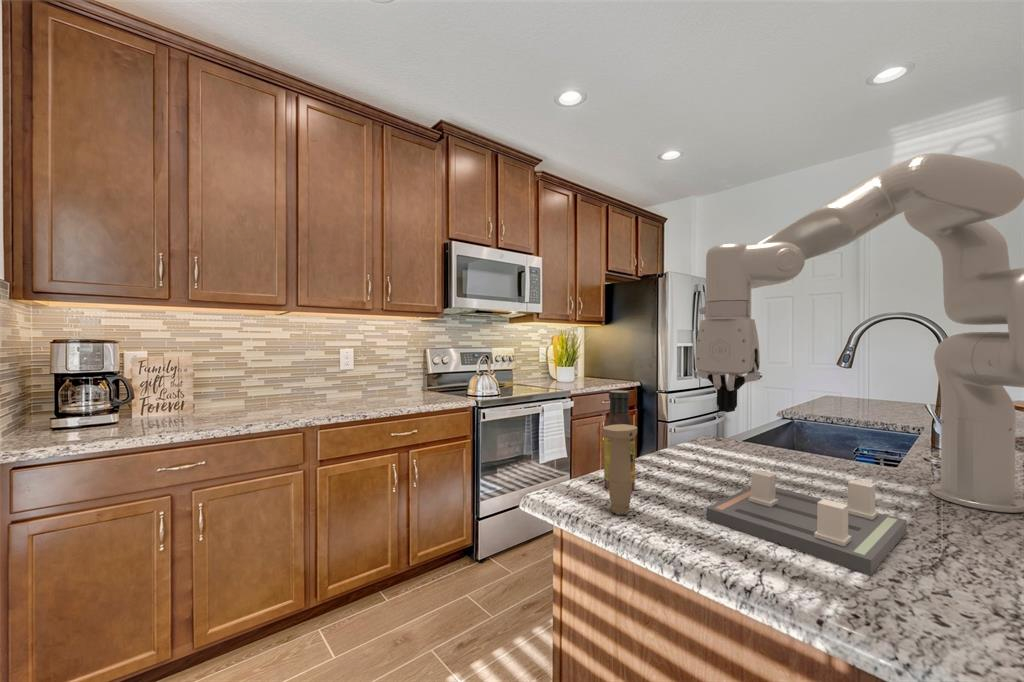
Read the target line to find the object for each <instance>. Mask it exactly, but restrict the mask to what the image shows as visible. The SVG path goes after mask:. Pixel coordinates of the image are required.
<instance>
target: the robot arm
mask: <svg viewBox="0 0 1024 682" xmlns="http://www.w3.org/2000/svg"><path fill="white" fill-rule="evenodd" d="M1023 201H1024V177H1023V176H1022V175H1021V174H1020V173H1019V172H1018V171H1017V170H1015V169H1013V168H1012V167H1009V166H1007V165H1003V164H1001V163H995V162H992V161H991V162H990V161H987V160H981V159H976V158H971V157H966V156H962V155H954V154H950V153H949V154H946V153H938V152H937V153H936V152H934V153H933V152H931V153H928V152H927V153H923V154H919V155H916V156H913V157H911V158H909V159H907V160H903V161H902V162H900V163H897V164H895V165H892V166H890V167H889V168H886V169H884V170H881V171H879V172H877V173H875V174H873V175H871V176H870V177H868V178H866V179H864V180H863V181H861V182H859V183H858V184H856V185H855V186H853V187H851V188H850V189H848V190H846V191H845V192H844V193H842V194H841V193H840V195H838V196H837V197H834V198H833V199H832V200H830V201H828V202H826V203H825V204H823V205H821V206H819V207H818V208H816V209H815V210H812V211H810V212H809V213H807V214H805V215H804V216H802V217H801V218H800V217H799V219H797V220H796V221H793V222H792V223H791V224H789V225H787V226H785V227H783V228H781V229H780V230H778V231H777V232H775V233H772V234H771V235H769V236H768V237H766V238H764V239H762V240H760V241H759V242H757V243H754V244H746V243H745V244H744V243H739V242H737V243H734V242H731V243H723V244H718V245H715V246H712V247H710V248H709V249H708V250H707V252H706V256H705V257H706V258H705V303H704V306H701V307H699V311H698V313H699V314H700V315H704V318H705V319H702V320H700V323H699V328H698V332H697V336H696V337H697V338H696V345H695V359H694V361H695V362H694V363H695V365H694V366H695V369H696V370H698V372H697V375H698V377H700V378H703V379H706V380H708V381H709V382H710V383H711V384H712V385H713V388H714V389H715V390H716V405H717V407H718V412H724V413H732V412H735V411H736V408H737V407H738V391H739V390H740V389H741V387H742V386H743V385H744V384H746V383H751V382H756V381H759V380H760V376H759V375H760V374H759V369H760V364H761V360H760V343H759V336H758V335H759V334H758V329H757V324H756V320H755V319H754V318H751V315H752V290H753V289H758V288H762V287H767V286H774V285H779V284H784V283H786V282H789V281H791V280H793V279H795V278H796V277H797V276H798V275H799V274H800V273H802V270H803V269H804V266H805V263H806V262H805V261H806V260H809V259H812V258H815V257H818V256H821V255H825V254H828V253H830V252H834V251H835V250H838V249H840V248H842V247H845V246H847V245H849V244H851V243H852V242H855V241H856V240H857V239H859V238H860V237H862V236H865V234H867V233H869V232H870V231H872V230H873V229H875V228H877V227H879V226H880V225H882V224H884V223H886V222H887V221H889V220H890V219H892V218H894V217H896V216H898V215H900V214H902V213H903V215H904V218H905V220H906V222H907V224H908V225H909V226H910V227H911V228H913V229H914V230H916V231H917V232H918V233H921V234H922V235H924V236H925V237H926V238H928V239H929V240H930V241H931V242H933V244H934V246H935V245H936V246H935V247H937V248H938V250H939V253H940V256H941V263H942V283H943V284H942V285H943V288H942V289H943V292H942V293H943V307H944V311H945V312H944V313H945V314H946V316H947V318H948V319H950V320H951V321H952V322H955V323H956V324H961V325H970V326H971V325H973V326H974V325H975V326H977V325H978V326H979V325H980V326H988V325H990V326H991V325H992V326H993V325H1007V329H1008V330H1007V331H1005V332H1004V331H973V332H962V333H957V334H953V335H950V336H948V337H946V338H944V339H942V341H940V343H939V344H938V345H937V346H936V348H935V350H934V356H933V360H934V366H935V367H934V368H935V370H936V373H937V376H938V377H937V378H938V381H939V388H940V404H941V407H940V409H941V411H940V412H941V416H940V417H941V419H940V422H941V423H940V425H941V426H940V433H941V434H940V440H941V441H940V482H938V483H932V484H931V485H929V492H930V494H932V496H935V497H937V498H938V499H941V500H944V501H947V502H949V503H952V504H956V505H960V506H964V507H968V508H973V509H977V510H978V509H979V510H983V511H991V512H999V513H1011V514H1012V513H1013V514H1014V513H1024V499H1023V498H1020V497H1018V496H1016V418H1017V416H1016V408H1015V404H1014V401H1013V399H1012V398H1011V396H1010V394H1009V393H1008V391H1007V390H1006V389H1005V387H1014V388H1024V267H1021V268H1012V269H1011V267H1010V257H1009V249H1008V247H1009V246H1008V242H1007V241H1006V239H1005V237H1004V236H1003V234H1002V233H1001V232H1000V231H999V230H998V229H997V228H996V227H995V226H993V225H992V224H990V223H989V222H988V221H989V220H992V219H996V218H1001V217H1003V216H1005V215H1007V214H1009V213H1011V212H1013V211H1014V210H1016V209H1017V208H1018V207H1019V206H1020V205H1021V203H1022V202H1023ZM745 374H746V375H745ZM727 375H728V376H727ZM727 377H728V378H727Z"/></svg>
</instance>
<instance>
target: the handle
mask: <svg viewBox="0 0 1024 682" xmlns="http://www.w3.org/2000/svg"><path fill="white" fill-rule="evenodd" d="M604 426H605V425H604ZM604 426H603V427H602V435H603V437H604V436H605V437H607V438H608V439H610V444H611V448H610V467H609V489H608V493H609V502H610V503H611V504H610V510H611V513H613V514H616V515H618V516H620V515H621V516H622V515H625V516H626V515H629V511H630V505H631V499H632V491H633V490H632V488H631V487H632V478H631V462H630V440H631V439H632V438H634V437H635V438H636V436H637V435H638V427H637V426H636V425H633V426H632V425H626V424H617V425H609V426H605V427H604Z"/></svg>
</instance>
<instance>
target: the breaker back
mask: <svg viewBox="0 0 1024 682" xmlns="http://www.w3.org/2000/svg"><path fill="white" fill-rule="evenodd" d="M847 505H848V514H852V515H856V516H859V517H863V518H867V519H871V520H873V519H874V518H876V517H877V516H878V513H879V511H877V510H876V483H870V482H867V481H862V480H856V479H851V480H849V481H848V482H847Z"/></svg>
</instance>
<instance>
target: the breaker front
mask: <svg viewBox="0 0 1024 682" xmlns="http://www.w3.org/2000/svg"><path fill="white" fill-rule="evenodd" d="M821 499H822V500H821V501H819V502H818V503H817V531H816V532H815V533H814V537H815V538H818V539H822V540H825V541H828V542H831V543H834V544H838V545H841V546H844V547H845V546H846V545H847V544H848V543H849V542H850V541H851V536H849V535H848V504H845V503H841V502H838V501H832V500H829V499H825V498H821Z"/></svg>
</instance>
